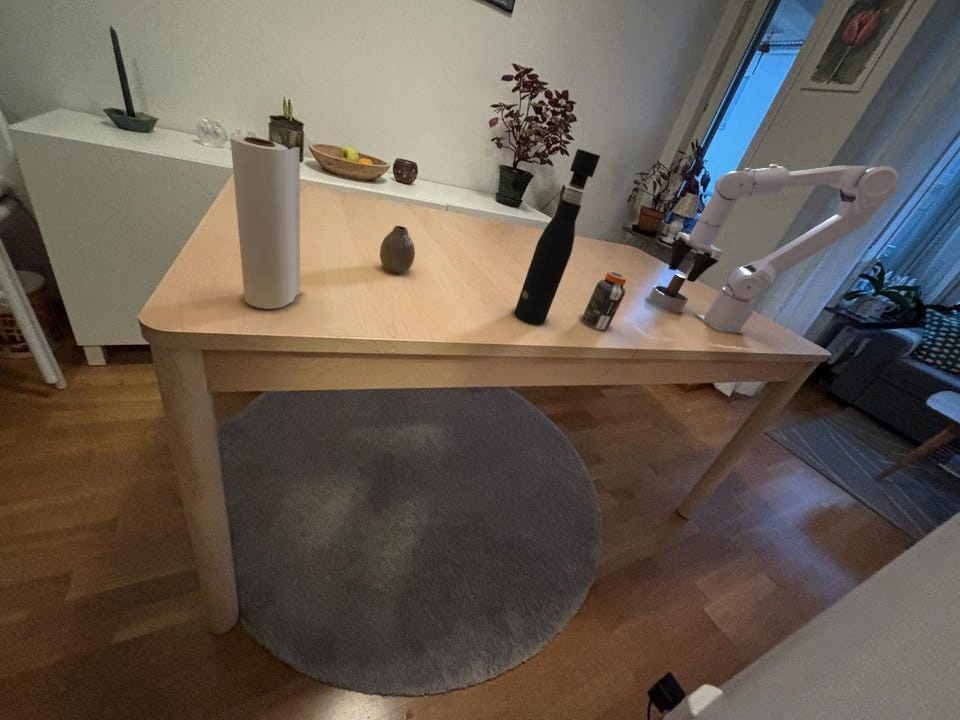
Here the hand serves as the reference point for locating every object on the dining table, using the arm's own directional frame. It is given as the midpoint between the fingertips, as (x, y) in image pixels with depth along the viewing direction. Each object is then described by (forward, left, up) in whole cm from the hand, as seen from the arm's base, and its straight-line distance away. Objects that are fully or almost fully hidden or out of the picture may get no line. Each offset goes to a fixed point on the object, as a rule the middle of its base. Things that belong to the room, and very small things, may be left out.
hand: (680, 275), depth 101 cm
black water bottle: (+48, +18, -9) cm, 52 cm away
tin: (0, 0, -9) cm, 9 cm away
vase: (+74, +4, -9) cm, 75 cm away
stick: (0, 0, -9) cm, 9 cm away
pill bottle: (+32, +17, -9) cm, 37 cm away
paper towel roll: (+93, +24, -9) cm, 96 cm away
